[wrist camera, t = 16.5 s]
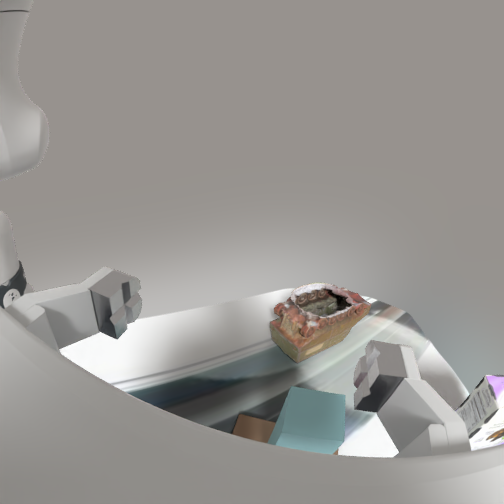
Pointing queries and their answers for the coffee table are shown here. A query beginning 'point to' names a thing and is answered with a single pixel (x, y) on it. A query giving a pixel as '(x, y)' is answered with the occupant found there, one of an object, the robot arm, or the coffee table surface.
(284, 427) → the teal block
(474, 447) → the candy box
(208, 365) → the coffee table surface
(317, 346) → the decorative box
